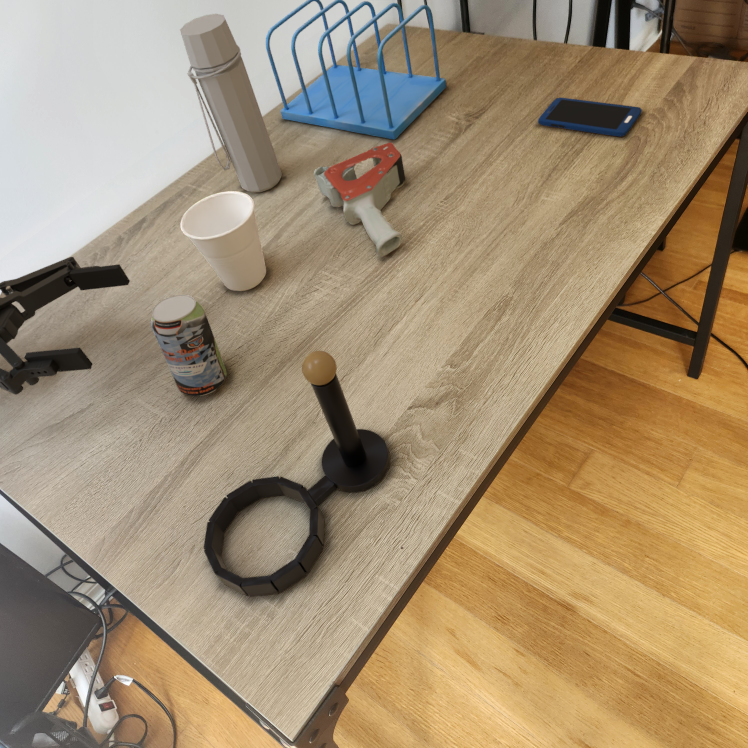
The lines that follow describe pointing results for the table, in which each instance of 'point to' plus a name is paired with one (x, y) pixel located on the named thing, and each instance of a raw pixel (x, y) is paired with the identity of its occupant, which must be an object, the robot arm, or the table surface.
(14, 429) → the table surface
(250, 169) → the water bottle
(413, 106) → the file sorter
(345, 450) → the can holder
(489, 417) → the table surface
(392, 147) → the tape dispenser
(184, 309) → the beverage can
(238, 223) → the cup
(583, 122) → the cell phone
